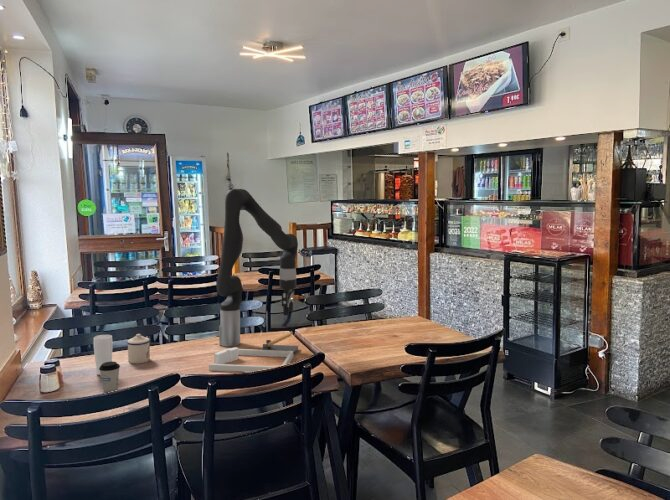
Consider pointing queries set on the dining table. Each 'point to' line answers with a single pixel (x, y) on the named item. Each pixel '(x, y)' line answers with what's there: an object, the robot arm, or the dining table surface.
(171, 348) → the dining table surface
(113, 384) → the coffee cup
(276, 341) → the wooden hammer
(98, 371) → the drinking glass
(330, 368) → the dining table surface
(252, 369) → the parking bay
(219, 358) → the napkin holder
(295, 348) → the pedal base
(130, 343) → the teacup with lid
